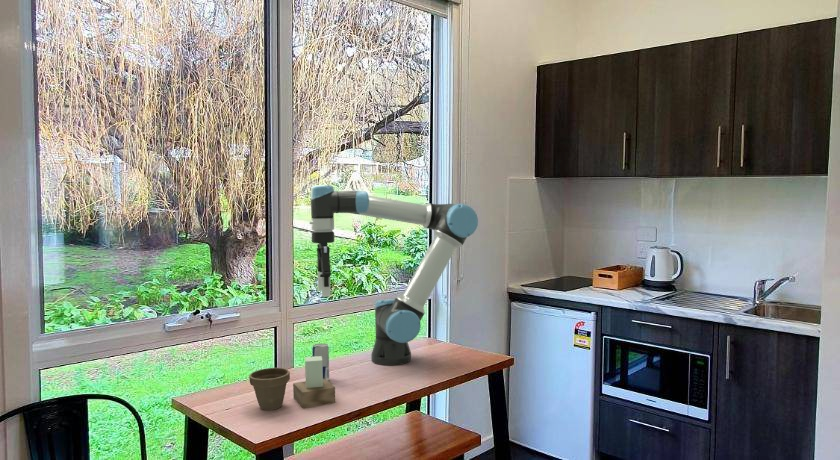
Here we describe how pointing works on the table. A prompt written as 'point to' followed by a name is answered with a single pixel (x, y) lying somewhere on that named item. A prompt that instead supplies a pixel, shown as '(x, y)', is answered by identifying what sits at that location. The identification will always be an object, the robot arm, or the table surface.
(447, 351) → the table surface
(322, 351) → the energy drink
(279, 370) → the flower pot
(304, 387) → the walnut block
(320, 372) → the sage block
